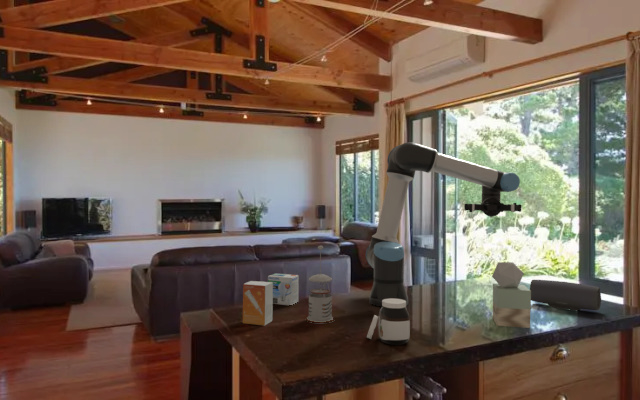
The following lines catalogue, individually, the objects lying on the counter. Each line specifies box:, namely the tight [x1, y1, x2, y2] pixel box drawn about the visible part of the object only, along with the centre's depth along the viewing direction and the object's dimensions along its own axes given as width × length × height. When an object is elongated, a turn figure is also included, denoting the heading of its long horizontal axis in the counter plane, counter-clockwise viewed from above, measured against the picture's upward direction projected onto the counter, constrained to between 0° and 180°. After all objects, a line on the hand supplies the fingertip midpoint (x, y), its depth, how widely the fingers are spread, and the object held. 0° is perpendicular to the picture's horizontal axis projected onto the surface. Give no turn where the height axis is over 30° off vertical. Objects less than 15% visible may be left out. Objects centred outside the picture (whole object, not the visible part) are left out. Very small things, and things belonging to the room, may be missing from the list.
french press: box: [306, 245, 334, 322], centre depth 156 cm, size 10×12×25 cm
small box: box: [242, 280, 274, 327], centre depth 151 cm, size 8×6×13 cm
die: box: [491, 261, 525, 288], centre depth 153 cm, size 8×9×10 cm
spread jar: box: [366, 298, 411, 346], centre depth 133 cm, size 12×11×12 cm
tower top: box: [492, 283, 532, 310], centre depth 153 cm, size 10×10×6 cm
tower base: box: [492, 301, 531, 329], centre depth 153 cm, size 10×10×6 cm
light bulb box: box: [267, 273, 300, 306], centre depth 179 cm, size 11×7×11 cm, turn 68°
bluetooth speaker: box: [529, 279, 602, 311], centre depth 173 cm, size 23×9×10 cm, turn 49°
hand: (492, 207), depth 167 cm, fingers open, 13 cm apart
